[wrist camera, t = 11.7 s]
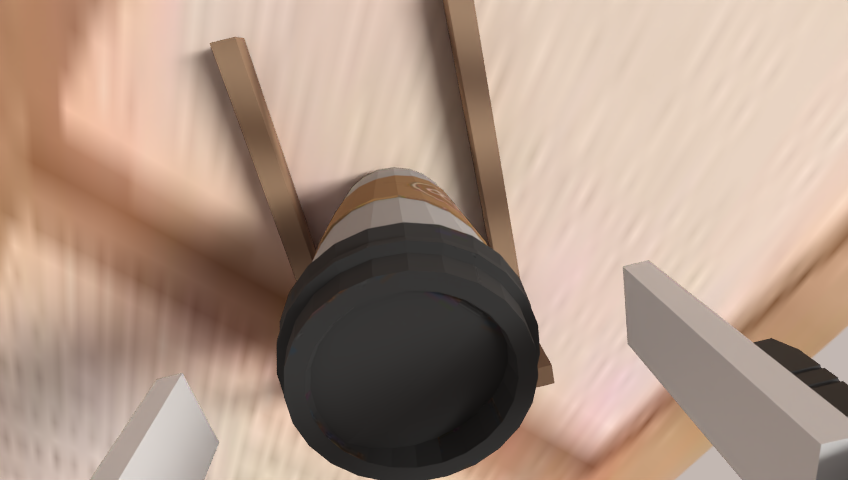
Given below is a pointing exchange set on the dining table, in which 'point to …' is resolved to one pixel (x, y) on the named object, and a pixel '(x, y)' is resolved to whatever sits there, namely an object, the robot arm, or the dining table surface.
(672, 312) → the robot arm
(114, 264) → the dining table surface
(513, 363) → the coffee cup
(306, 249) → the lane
